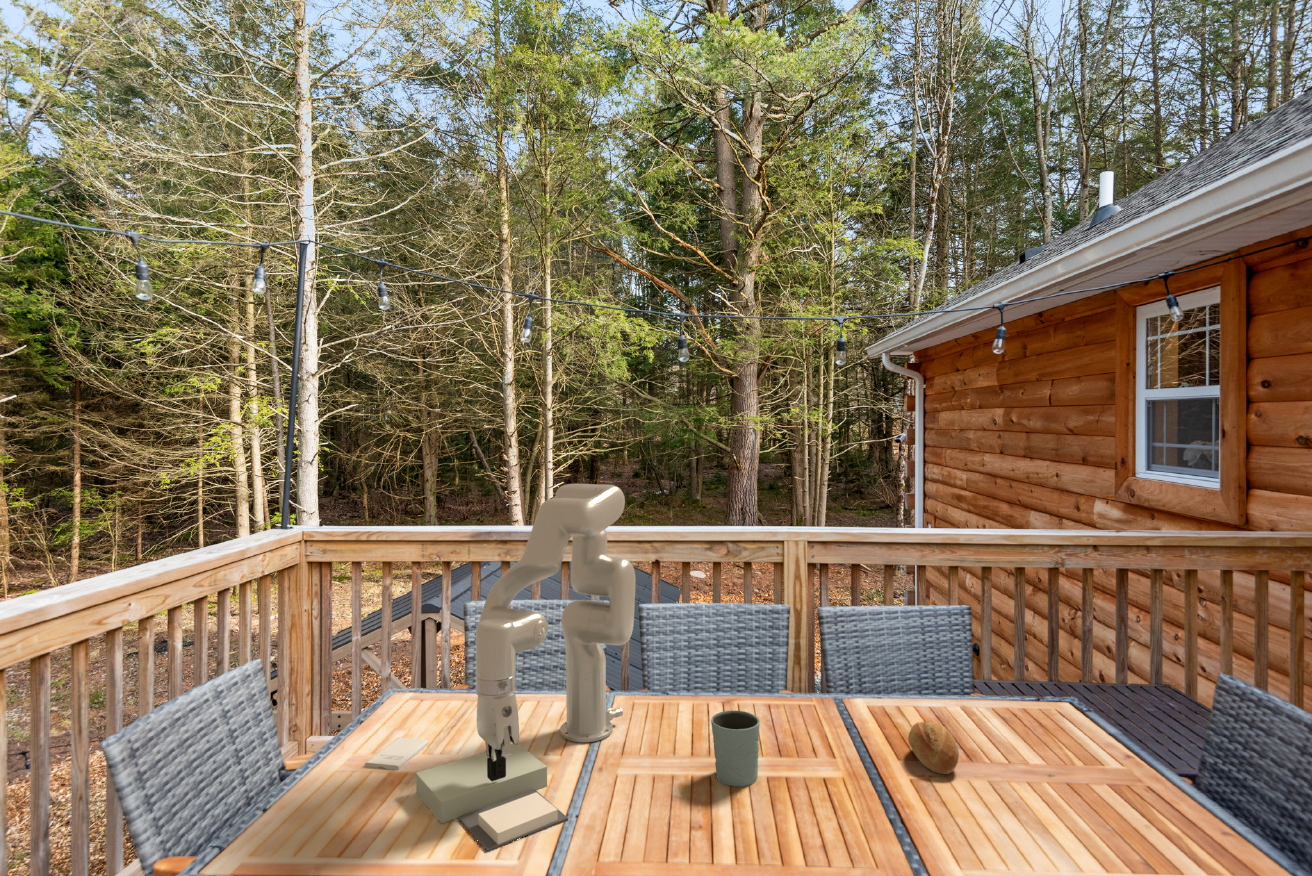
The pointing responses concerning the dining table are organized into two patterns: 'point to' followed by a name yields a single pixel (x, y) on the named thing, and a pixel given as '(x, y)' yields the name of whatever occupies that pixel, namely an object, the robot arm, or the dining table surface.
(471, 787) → the sage green block
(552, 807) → the cream flat block
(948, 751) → the bread roll
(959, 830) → the dining table surface
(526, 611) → the robot arm
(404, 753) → the external hard drive
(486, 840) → the mat
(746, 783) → the grey green cup
